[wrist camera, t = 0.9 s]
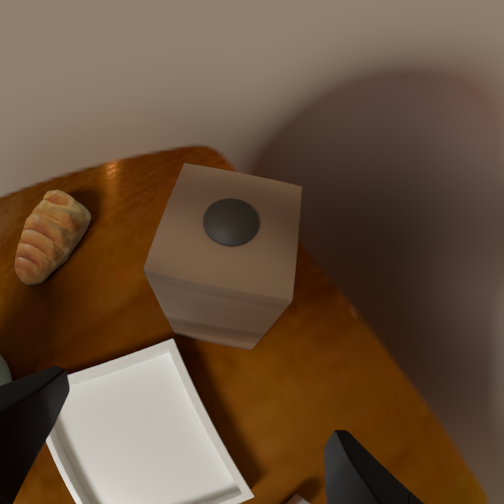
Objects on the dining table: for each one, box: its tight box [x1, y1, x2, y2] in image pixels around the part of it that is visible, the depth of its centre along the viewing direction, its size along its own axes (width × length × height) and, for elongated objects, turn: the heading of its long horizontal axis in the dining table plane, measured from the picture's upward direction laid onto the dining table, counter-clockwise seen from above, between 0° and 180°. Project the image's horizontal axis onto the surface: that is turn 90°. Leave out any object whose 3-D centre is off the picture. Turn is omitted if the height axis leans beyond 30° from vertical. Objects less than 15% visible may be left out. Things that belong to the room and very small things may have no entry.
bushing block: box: [143, 163, 302, 350], centre depth 18 cm, size 6×6×12 cm
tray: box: [46, 339, 254, 504], centre depth 16 cm, size 13×13×2 cm
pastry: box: [14, 190, 91, 285], centre depth 22 cm, size 9×7×4 cm
